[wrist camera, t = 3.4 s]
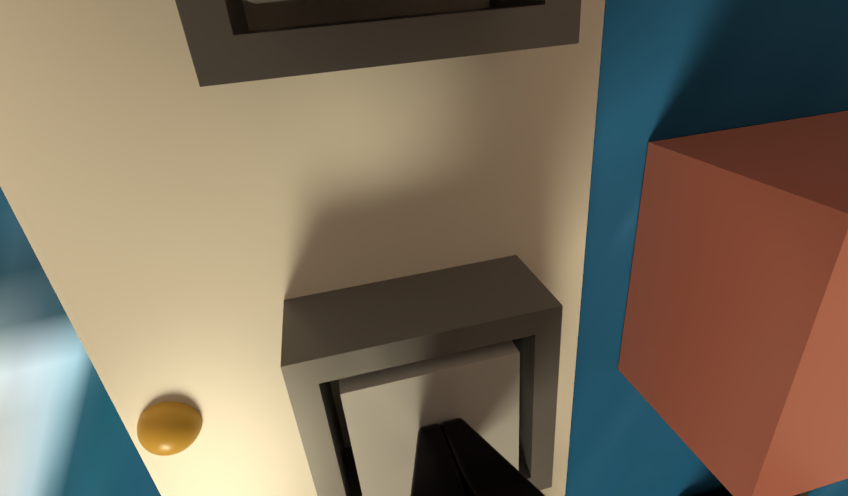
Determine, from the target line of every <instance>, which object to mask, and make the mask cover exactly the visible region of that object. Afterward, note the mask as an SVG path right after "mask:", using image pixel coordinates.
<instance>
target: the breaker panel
mask: <svg viewBox="0 0 848 496" xmlns="http://www.w3.org/2000/svg"><path fill="white" fill-rule="evenodd" d="M604 8H605V0H296V1H284V2H273V3H262V4H255V3H252V2H249V1H245V0H0V187H1V189H2V191H3V192H4V194H5V196H6V198H7V200H8V202H9V204H10V206H11V208H12V210H13V212H14V214H15V216H16V217H17V219H18V221H19V223H20V225H21V227H22V229H23V231H24V233H25V235H26V237H27V239H28V240H29V242H30V244H31V246H32V248H33V250H34V252H35V254H36V256H37V258H38V260H39V262H40V264H41V265H42V267H43V269H44V271H45V273H46V275H47V277H48V279H49V281H50V283H51V285H52V287H53V289H54V290H55V292H56V294H57V296H58V298H59V300H60V302H61V304H62V306H63V308H64V310H65V312H66V314H67V315H68V317H69V319H70V321H71V323H72V325H73V327H74V329H75V331H76V333H77V335H78V337H79V339H80V340H81V342H82V344H83V346H84V348H85V350H86V352H87V354H88V356H89V358H90V360H91V362H92V364H93V365H94V367H95V369H96V371H97V373H98V375H99V377H100V379H101V381H102V383H103V385H104V387H105V389H106V390H107V392H108V394H109V396H110V398H111V400H112V402H113V404H114V406H115V408H116V410H117V412H118V414H119V415H120V417H121V419H122V421H123V423H124V425H125V427H126V429H127V431H128V433H129V435H130V437H131V439H132V440H133V442H134V444H135V446H136V448H137V450H138V452H139V454H140V456H141V458H142V460H143V462H144V464H145V465H146V467H147V469H148V471H149V473H150V475H151V477H152V479H153V481H154V483H155V485H156V487H157V489H158V490H159V492H160V494H161V496H362V491H361V487H360V482H359V478H358V473H357V469H356V464H355V459H354V455H353V450H352V446H351V441H350V437H349V432H348V428H347V423H346V419H345V414H344V410H343V405H342V400H341V396H340V389H339V380H338V379H342V378H347V377H351V376H355V375H360V374H364V373H369V372H373V371H378V370H382V369H386V368H391V367H395V366H400V365H404V364H408V363H413V362H417V361H422V360H426V359H431V358H435V357H439V356H444V355H448V354H453V353H457V352H461V351H466V350H470V349H475V348H479V347H484V346H488V345H492V344H497V343H501V342H506V341H510V340H512V341H513V343H514V344H515V346H516V347H517V349H518V351H519V352H520V385H519V472H520V473H521V474H522V475H524V476H525V477H526V478H527V479H528V480H529V481H530V482H531V483H532V484H533V485H534V486H535V487H536V488H538V489H539V490H540V491H541V492H542V493H543V494H544V495H545V496H565V489H566V476H567V464H568V452H569V439H570V427H571V415H572V403H573V390H574V378H575V366H576V353H577V341H578V329H579V316H580V304H581V292H582V279H583V267H584V255H585V242H586V230H587V218H588V205H589V193H590V181H591V168H592V156H593V144H594V131H595V119H596V107H597V94H598V82H599V70H600V58H601V45H602V33H603V21H604Z"/></svg>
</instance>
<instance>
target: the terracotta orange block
mask: <svg viewBox="0 0 848 496" xmlns="http://www.w3.org/2000/svg"><path fill="white" fill-rule="evenodd" d="M618 370H619V371H620V372H621V373H622V374H623V375H624V376H625V377H626V379H627V380H628V381H629V382H630V383H631V384H632V385H633V386H634V387H635V388H636V390H637V391H638V392H639V393H640V394H641V395H642V396H643V397H644V398H645V400H646V401H647V402H648V403H649V404H650V405H651V406H652V407H653V408H654V409H655V411H656V412H657V413H658V414H659V415H660V416H661V417H662V418H663V419H664V420H665V422H666V423H667V424H668V425H669V426H670V427H671V428H672V429H673V430H674V431H675V433H676V434H677V435H678V436H679V437H680V438H681V439H682V440H683V441H684V443H685V444H686V445H687V446H688V447H689V448H690V449H691V450H692V451H693V452H694V454H695V455H696V456H697V457H698V458H699V459H700V460H701V461H702V462H703V463H704V465H705V466H706V467H707V468H708V469H709V470H710V471H711V472H712V473H713V474H714V476H715V477H716V478H717V479H718V480H719V481H720V482H721V483H722V484H723V486H724V487H725V488H726V489H727V490H728V491H729V492H730V493H731V494H732V495H733V496H794V495H797V494H801V493H804V492H807V491H810V490H813V489H816V488H819V487H822V486H825V485H829V484H832V483H835V482H838V481H841V480H844V479H847V478H848V111H842V112H836V113H829V114H823V115H817V116H810V117H804V118H798V119H791V120H785V121H779V122H773V123H766V124H760V125H754V126H747V127H741V128H735V129H728V130H722V131H716V132H709V133H703V134H697V135H691V136H684V137H678V138H672V139H665V140H659V141H653V142H648V150H647V157H646V165H645V172H644V180H643V187H642V194H641V202H640V209H639V217H638V224H637V232H636V239H635V246H634V254H633V261H632V269H631V276H630V283H629V291H628V298H627V306H626V313H625V321H624V328H623V335H622V343H621V350H620V358H619V365H618Z"/></svg>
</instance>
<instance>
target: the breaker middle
mask: <svg viewBox="0 0 848 496" xmlns="http://www.w3.org/2000/svg"><path fill="white" fill-rule="evenodd" d="M338 380H339V389H340V396H341V400H342V405H343V410H344V414H345V419H346V423H347V428H348V432H349V437H350V441H351V446H352V450H353V455H354V459H355V464H356V469H357V473H358V478H359V482H360V487H361V491H362V496H410V495H411V486H412V478H413V469H414V461H415V452H416V443H417V435H418V430H419V428H420V427H424V426H427V425H431V424H436V423H437V424H439V425H441V423H442V422H443V421H447V420H451V419H455V418H461V419H463V420H464V421H465V422H467V423H468V424H469V425H470V426H471V427H472V428H473V429H474V430H475V431H476V432H477V433H478V434H479V435H481V436H482V437H483V438H484V439H485V440H486V441H487V442H488V443H489V444H490V445H491V446H492V447H493V448H495V449H496V450H497V451H498V452H499V453H500V454H501V455H502V456H503V457H504V458H505V459H506V460H507V461H509V462H510V463H511V464H512V465H513V466H514V467H515V468H516V469H517V470H518V471H519V385H520V352H519V351H518V349H517V347H516V346H515V344H514V343H513V341H512V340H510V341H506V342H501V343H497V344H492V345H488V346H484V347H479V348H475V349H470V350H466V351H461V352H457V353H453V354H448V355H444V356H439V357H435V358H431V359H426V360H422V361H417V362H413V363H408V364H404V365H400V366H395V367H391V368H386V369H382V370H378V371H373V372H369V373H364V374H360V375H355V376H351V377H347V378H342V379H338Z"/></svg>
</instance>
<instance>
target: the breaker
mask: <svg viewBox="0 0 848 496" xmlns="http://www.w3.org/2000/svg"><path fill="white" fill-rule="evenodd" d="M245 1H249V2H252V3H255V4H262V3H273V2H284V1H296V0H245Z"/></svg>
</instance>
